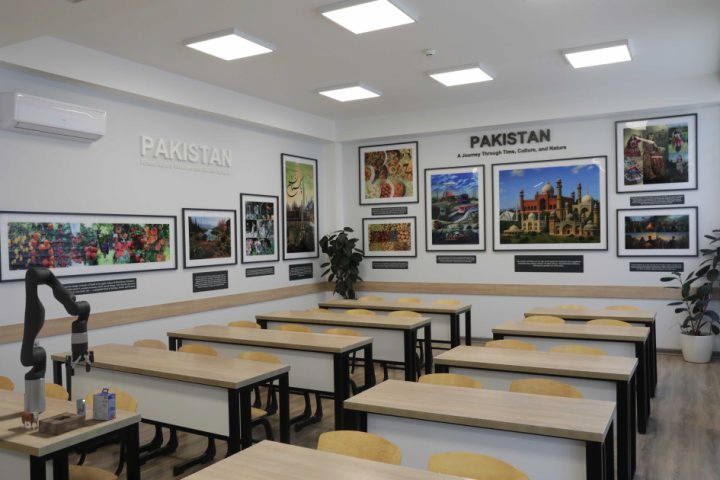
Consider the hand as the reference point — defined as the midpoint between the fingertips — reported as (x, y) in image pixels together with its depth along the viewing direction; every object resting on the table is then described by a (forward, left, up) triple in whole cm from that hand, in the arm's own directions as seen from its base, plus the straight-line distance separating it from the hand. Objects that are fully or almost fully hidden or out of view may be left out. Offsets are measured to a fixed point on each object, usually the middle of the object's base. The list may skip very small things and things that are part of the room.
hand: (80, 373), depth 284 cm
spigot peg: (0, 0, -22) cm, 22 cm away
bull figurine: (-9, -20, -22) cm, 31 cm away
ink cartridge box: (+12, +4, -22) cm, 25 cm away
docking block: (+7, -15, -22) cm, 27 cm away
